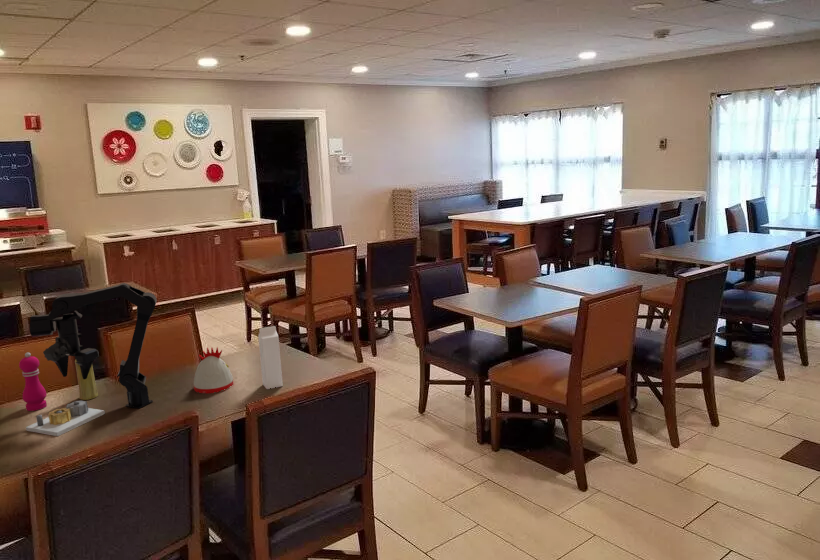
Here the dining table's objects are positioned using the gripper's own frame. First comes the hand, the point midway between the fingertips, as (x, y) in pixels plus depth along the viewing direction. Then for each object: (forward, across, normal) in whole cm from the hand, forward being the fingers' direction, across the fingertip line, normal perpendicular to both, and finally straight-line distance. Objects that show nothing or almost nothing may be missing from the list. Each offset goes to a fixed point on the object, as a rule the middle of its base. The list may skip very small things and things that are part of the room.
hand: (75, 377), depth 214 cm
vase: (+13, -10, +12) cm, 20 cm away
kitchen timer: (+13, +28, +34) cm, 46 cm away
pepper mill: (+13, -20, -1) cm, 24 cm away
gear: (+11, +2, -9) cm, 15 cm away
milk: (+13, +49, +41) cm, 65 cm away
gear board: (+12, +2, -7) cm, 14 cm away
